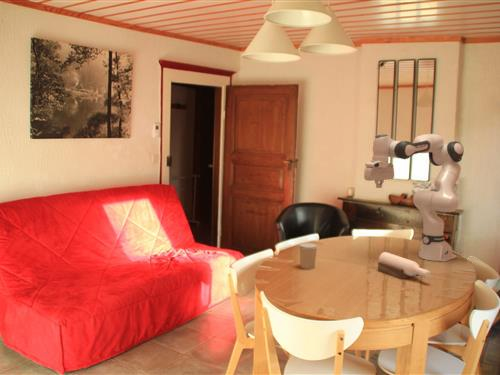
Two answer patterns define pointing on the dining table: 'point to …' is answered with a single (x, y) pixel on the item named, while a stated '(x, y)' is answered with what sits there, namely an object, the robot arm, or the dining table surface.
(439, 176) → the robot arm
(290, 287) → the dining table surface
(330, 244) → the dining table surface
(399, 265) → the bottle
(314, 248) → the coffee cup
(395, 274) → the cradle
